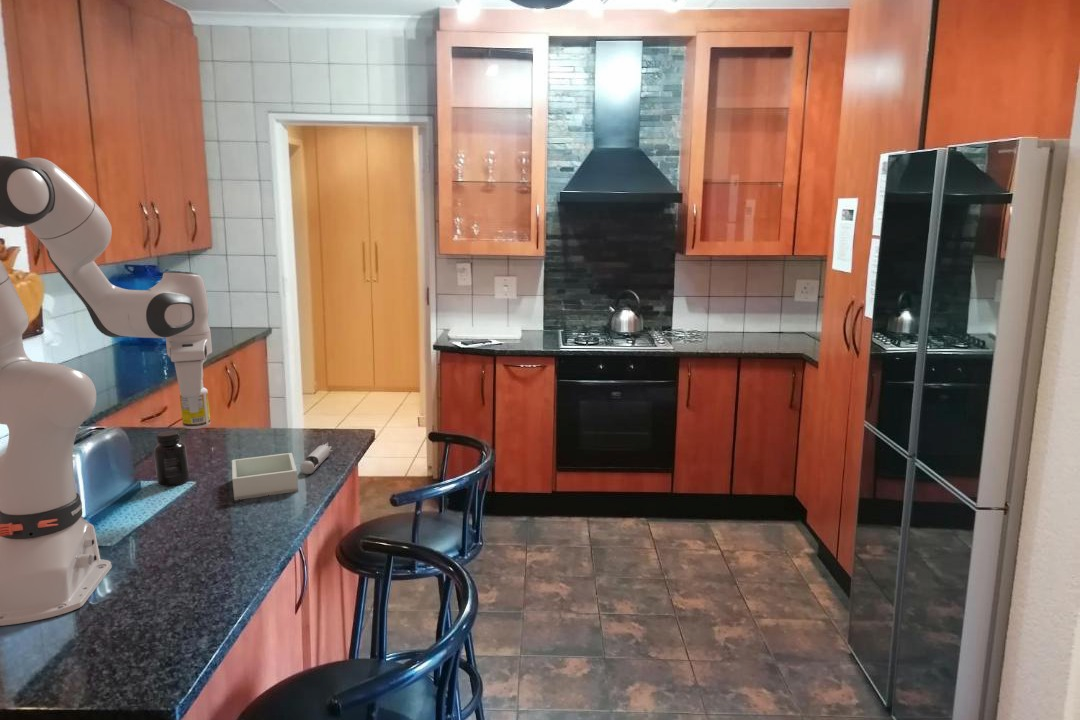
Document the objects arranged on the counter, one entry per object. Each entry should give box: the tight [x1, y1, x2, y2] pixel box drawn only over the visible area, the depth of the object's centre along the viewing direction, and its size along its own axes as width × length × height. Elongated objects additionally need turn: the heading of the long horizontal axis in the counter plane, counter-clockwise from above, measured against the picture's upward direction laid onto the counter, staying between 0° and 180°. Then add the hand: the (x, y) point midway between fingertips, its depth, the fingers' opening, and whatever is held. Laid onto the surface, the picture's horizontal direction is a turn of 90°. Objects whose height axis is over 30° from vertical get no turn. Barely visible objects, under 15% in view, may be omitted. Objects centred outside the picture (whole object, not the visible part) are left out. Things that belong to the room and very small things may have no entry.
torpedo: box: [299, 433, 333, 475], centre depth 186 cm, size 18×5×6 cm, turn 179°
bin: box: [231, 452, 299, 501], centre depth 171 cm, size 14×14×5 cm
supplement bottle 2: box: [179, 380, 211, 430], centre depth 161 cm, size 6×6×10 cm
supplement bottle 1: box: [153, 430, 190, 487], centre depth 173 cm, size 7×7×12 cm
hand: (195, 408), depth 161 cm, fingers closed on supplement bottle 2, 6 cm apart
